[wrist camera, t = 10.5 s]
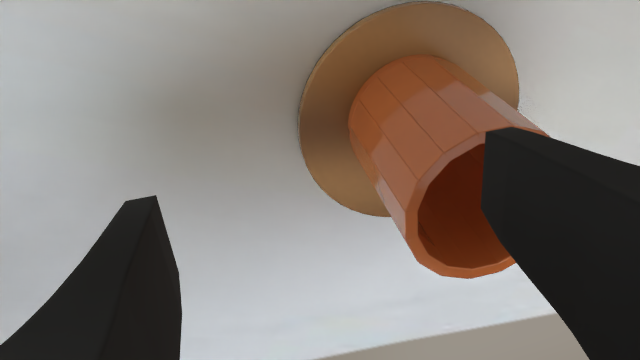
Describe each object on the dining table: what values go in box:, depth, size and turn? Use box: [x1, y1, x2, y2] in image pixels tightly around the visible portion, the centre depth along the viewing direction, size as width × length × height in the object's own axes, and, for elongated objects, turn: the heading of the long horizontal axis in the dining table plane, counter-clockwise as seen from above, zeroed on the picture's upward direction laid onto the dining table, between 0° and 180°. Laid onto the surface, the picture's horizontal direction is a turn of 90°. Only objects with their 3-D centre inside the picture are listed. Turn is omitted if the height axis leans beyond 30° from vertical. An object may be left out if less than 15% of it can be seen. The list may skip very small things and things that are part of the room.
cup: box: [348, 54, 551, 279], centre depth 19 cm, size 5×5×6 cm
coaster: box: [298, 1, 519, 217], centre depth 22 cm, size 9×9×1 cm
